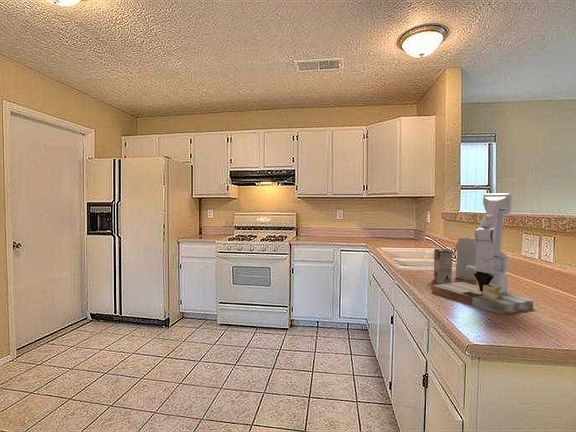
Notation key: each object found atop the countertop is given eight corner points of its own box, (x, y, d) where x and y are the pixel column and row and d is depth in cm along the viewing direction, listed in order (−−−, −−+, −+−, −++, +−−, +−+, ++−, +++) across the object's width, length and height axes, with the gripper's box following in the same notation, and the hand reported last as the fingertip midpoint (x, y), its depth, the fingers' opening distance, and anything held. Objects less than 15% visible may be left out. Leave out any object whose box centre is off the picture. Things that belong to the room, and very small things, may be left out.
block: (490, 293, 124) (490, 284, 124) (501, 297, 120) (502, 286, 120) (482, 295, 122) (483, 285, 122) (494, 298, 118) (494, 287, 118)
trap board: (461, 288, 144) (461, 281, 144) (533, 308, 116) (533, 300, 116) (432, 292, 137) (432, 285, 137) (501, 314, 109) (501, 306, 109)
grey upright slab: (478, 279, 160) (479, 237, 160) (477, 281, 157) (478, 238, 156) (455, 276, 167) (456, 236, 166) (453, 278, 164) (455, 236, 163)
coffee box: (433, 279, 161) (433, 248, 160) (446, 280, 160) (447, 249, 159) (438, 283, 152) (438, 251, 151) (452, 284, 151) (453, 251, 150)
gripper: (461, 255, 129) (460, 287, 130) (495, 261, 116) (494, 297, 116) (472, 254, 132) (471, 286, 132) (508, 260, 119) (506, 295, 119)
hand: (483, 291), depth 125 cm, fingers closed
